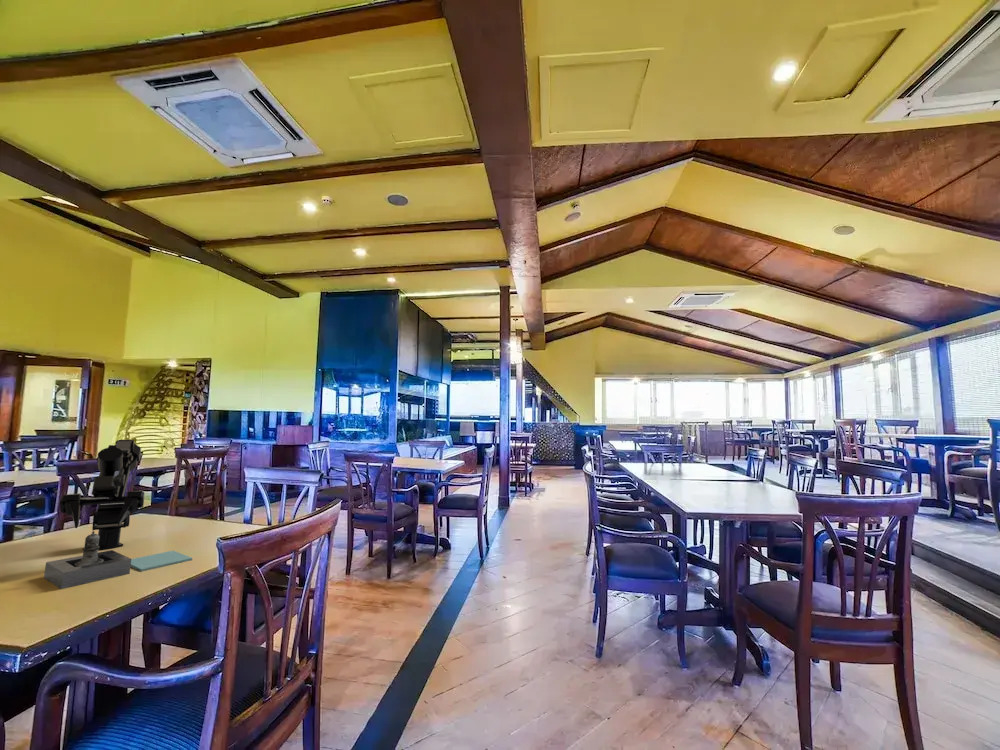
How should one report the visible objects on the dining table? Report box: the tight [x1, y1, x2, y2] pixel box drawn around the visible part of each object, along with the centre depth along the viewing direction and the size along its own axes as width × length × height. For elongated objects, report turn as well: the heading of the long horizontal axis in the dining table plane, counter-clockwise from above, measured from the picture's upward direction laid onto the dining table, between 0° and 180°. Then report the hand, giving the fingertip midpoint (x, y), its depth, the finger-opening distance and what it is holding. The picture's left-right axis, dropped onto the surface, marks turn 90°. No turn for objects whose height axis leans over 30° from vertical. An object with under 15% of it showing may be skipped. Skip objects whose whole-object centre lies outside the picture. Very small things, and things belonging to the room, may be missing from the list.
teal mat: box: [130, 550, 193, 572], centre depth 132 cm, size 13×13×1 cm
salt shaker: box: [75, 530, 104, 567], centre depth 119 cm, size 6×6×12 cm
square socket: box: [43, 549, 132, 590], centre depth 119 cm, size 14×14×4 cm
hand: (97, 525), depth 125 cm, fingers open, 9 cm apart
